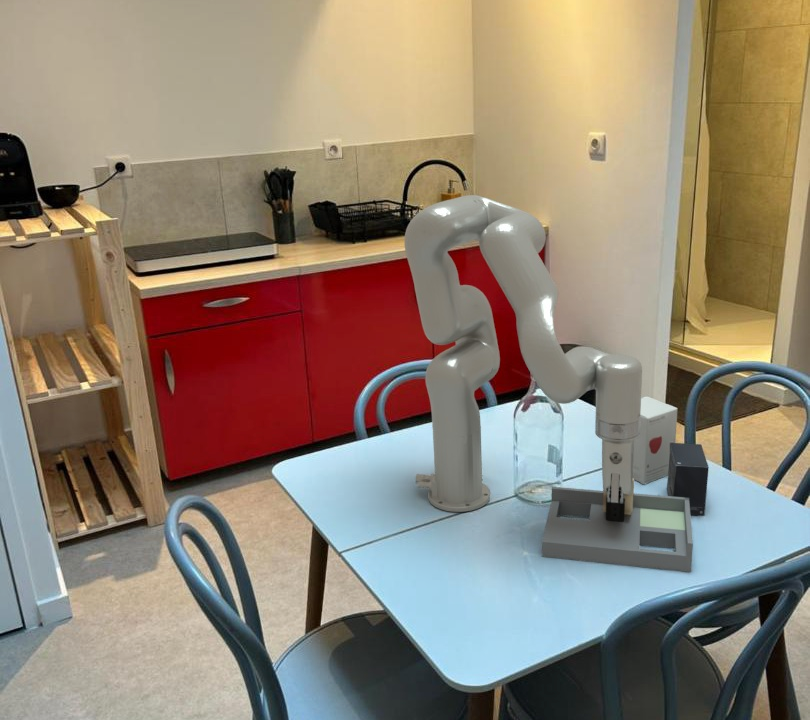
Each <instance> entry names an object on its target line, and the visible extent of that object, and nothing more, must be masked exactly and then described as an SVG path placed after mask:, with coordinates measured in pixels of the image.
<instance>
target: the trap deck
mask: <svg viewBox="0 0 810 720" xmlns="http://www.w3.org/2000/svg"><path fill="white" fill-rule="evenodd" d="M603 494H604V491H603V490H596V489H595V490H594V489H583V488H572V487H570V488H569V487H558V486H551V502H550V504H549V506H550V507H549V509H548V515H547V518H546V523H545V526H544V527H545V528H544V531H543V536H542V539H541V557H543V558H544V557H545V558H551V559H553V558H554V559H563V560H570V559H571V561H572V560H573V561H580V560H581V562H582V561H583V562H590V563H591V562H592V563H598V564H599V563H601V564H608V565H609V564H610V565H618V566H619V565H620V566H629V567H639V568H649V569H658V570H659V569H660V570H667V571H668V570H669V571H675V572H676V571H677V572H678V571H679V572H685V573H686V572H687V573H692V561H693V548H694V547H693V546H694V539H693V530H692V529H693V528H692V517H691V516H692V515H690V504H689V498H685V497H673V496H668V495H659V494H658V495H657V494H647V493H636V492H635V493H634V492H633V509H632V513H631V515H628V514H624V522H614V521H607V520H606V512H602V511H603ZM560 516H562V517H560ZM563 516H564V517H563ZM571 517H573V518H571ZM574 517H575V518H574ZM576 517H577V518H576ZM580 518H583V519H580ZM584 518H585V519H584ZM586 518H588V519H586ZM640 546H643V547H644V546H647V547H656V548H667V549H674V551H669V550H661V549H660V550H659V549H650V548H649V549H648V548H641V547H640Z"/></svg>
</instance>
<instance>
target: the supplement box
mask: <svg viewBox="0 0 810 720" xmlns="http://www.w3.org/2000/svg"><path fill="white" fill-rule="evenodd" d="M677 422H678V407H675V406H673V405H671V404H668V403H665V402H662V401H660V400H658V399H656V398H652V397H649V396H648V395H646V396H643V397H641V415H640V436H639V437H638V438H637V439H636V440H634V458H633V459H634V461H633V478H634V481H637V482H639V483H640V484H642V485H645V484H649V483H651V482H654V481H656V480H660V479H661V478H664V477H668V469H669V455H670V443H676V440H677V439H676V437H677V424H678V423H677Z"/></svg>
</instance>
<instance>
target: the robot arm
mask: <svg viewBox="0 0 810 720" xmlns="http://www.w3.org/2000/svg"><path fill="white" fill-rule="evenodd" d="M473 241H477V242H478V244H479V249H480V253H481V254H482V257H483V259H484V260H485V262H486V264H487V266H488V267H489V269H490V272H491V273H492V275H493V277H494V278H495V280H496V281H497V283H498V285H499V287H500V288H501V290H502V292H503V293H504V295H505V297H506V299H507V301H508V302H509V305H510V306H511V308H512V309H513V311H514V313H515V318H516V321H515V322H516V331H517V337H518V344H519V348H520V353H521V356H522V359H523V361H524V362H525V365H526V367H527V368H528V371H529V372H530V374H531V376H532V378H533V379H534V381H535V382H536V385H537V387H538V388H539V389H540V390H541V392H542V393H543V394H544V395H545V396H546V397H547V398H548V399H549V400H551V401H552V402H554V403H558V404H564V405H565V404H570V403H573V402H575V401H577V400H578V399H580V398H581V397H582V396H584V395H585V394H586V393H587V392H588V391H592V390H595V425H594V427H595V428H594V429H595V430H594V433H595V436H597V438H599V439H601V473H602V474H601V475H602V491H604V492H605V493H607V498H606V520H607V521H614V522H624V513H625V498H624V494H628V495H630V494H631V493H632V482H633V461H634V459H633V458H634V440H636V439H637V438H638V437H639V436H640V415H641V398H642V390H643V389H642V385H643V383H642V382H643V365H642V362H641V361H640V359H638V358H637V357H635V356H633V355H632V356H631V355H627V354H617V353H616V354H612V353H610V352H609V353H608V352H606V351H602V350H600V349H596V348H594V347H590V346H583V345H582V346H580V345H579V346H576V347H573V348H572V349H570V350H569V351H567V352H564V351H563V348H562V346H561V344H560V343H559V340H558V338H557V334H556V329H555V313H556V307H557V305H558V299H559V289H558V286H557V284H556V283H555V281H554V280H553V278H552V276H551V274H550V272H549V271H548V269H547V267H546V265H545V264H544V262H543V260H542V259H541V257H540V255H539V253H541V251H542V250H543V248H544V247H545V244H546V241H547V239H546V230H545V228H544V226H543V224H542V222H541V221H540V219H538V218H537V217H536V216H535V215H533V214H531V213H529V212H527V211H525V210H522V209H520V208H517V207H515V206H511V205H509V204H505V203H502V202H499V201H497V200H493V199H491V198H488V197H484V196H480V195H478V194H477V195H476V194H469V195H468V194H467V195H462V196H458V197H455V198H451V199H447V200H442V201H439V202H436V203H433V204H431V205H428V206H427V207H425V208H424V209H422V210H421V211H419V212H418V213H417V214H415V215H414V217H412V219H411V220H410V222H409V223H408V224H407V227H406V230H405V234H404V249H405V250H404V251H405V255H406V258H407V262H408V265H409V269H410V272H411V276H412V280H413V284H414V285H413V286H414V292H415V296H416V302H417V307H418V311H419V315H420V321H421V327H422V330H423V333H424V335H425V336H426V338H427V339H428V340H429V341H430V342H431V343H432V344H434V345H439V346H445V345H449V344H451V343H454V342H455V345H453V346H451V347H449V348H447V349H445V350H444V351H442V352H440V353H438V355H436V356H434V358H433V359H432V360H431V361H430V363H429V364H428V366H427V368H426V371H425V386H426V389H427V393H428V397H429V402H430V409H431V410H430V411H431V422H432V425H431V426H432V439H433V441H432V442H433V443H432V444H433V461H434V466H433V467H434V473H431V474H424V473H416V474H415V478H414V480H415V484H417V487H418V489H428V495H427V497H428V501H429V502H430V504H431V505H432V506H433V507H435V508H437V509H439V510H441V511H447V512H454V513H463V512H465V513H466V512H470V511H471V512H472V511H474V510H477V509H480V508H482V507H484V506H485V505H486V504H488V502H489V501H490V499H491V489H490V488H489V486H487V485H486V484H485V483H483V467H482V466H483V463H482V458H483V457H482V456H483V455H482V426H481V413H480V409H479V405H478V403H477V401H476V398H475V391H477V390H478V389H479V388H480V387H482V386H484V385H485V384H486V383H487V382H489V381H491V380H492V379H493V378H494V377H495V375H497V373H498V371H499V368H500V362H501V357H500V350H499V345H498V338H497V333H496V328H495V323H494V317H493V316H494V315H493V311H492V307H491V304H490V302H489V300H488V298H487V296H486V295H485V294H484V292H483V291H481V290H480V289H479V288H477V287H476V286H473V285H471V284H470V285H468V284H463V285H462V284H460V280H459V279H460V278H459V273H458V270H457V267H456V264H455V262H454V260H453V259H452V257H451V256H450V254H449V251H450V250H451V249H453V248H455V247H459V246H461V245H465V244H467V243H470V242H473Z"/></svg>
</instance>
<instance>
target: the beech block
mask: <svg viewBox="0 0 810 720" xmlns="http://www.w3.org/2000/svg"><path fill="white" fill-rule="evenodd" d="M634 489H635V480H634V478H633V482H632V493H631V494H630V495H628V494H624V498H625V513H624V514H628V515H631V513H632V509H633V493H634ZM606 498H607V493H605V492H604V494H603V511H602V512H606Z"/></svg>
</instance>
